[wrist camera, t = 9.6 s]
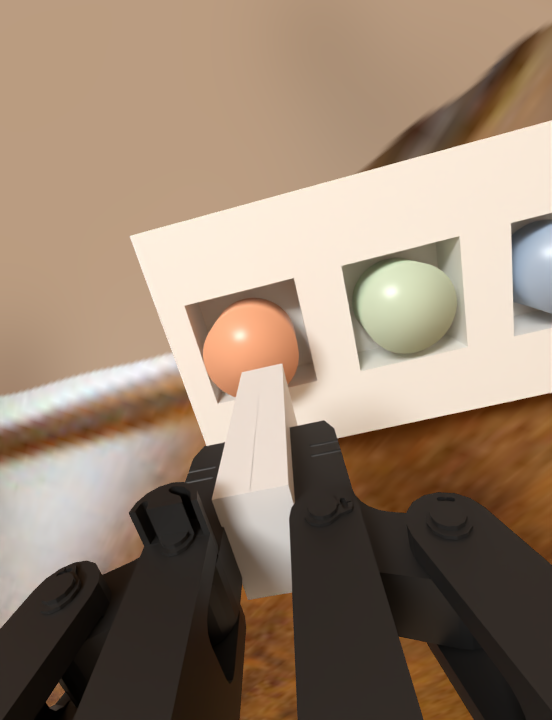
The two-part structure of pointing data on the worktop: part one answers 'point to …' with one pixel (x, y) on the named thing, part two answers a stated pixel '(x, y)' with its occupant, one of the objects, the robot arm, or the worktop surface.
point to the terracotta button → (249, 342)
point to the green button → (404, 304)
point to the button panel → (345, 266)
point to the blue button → (533, 265)
